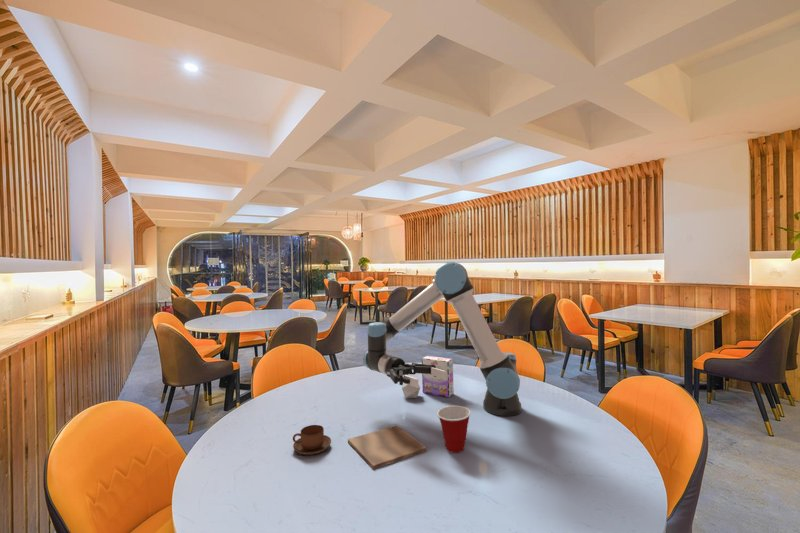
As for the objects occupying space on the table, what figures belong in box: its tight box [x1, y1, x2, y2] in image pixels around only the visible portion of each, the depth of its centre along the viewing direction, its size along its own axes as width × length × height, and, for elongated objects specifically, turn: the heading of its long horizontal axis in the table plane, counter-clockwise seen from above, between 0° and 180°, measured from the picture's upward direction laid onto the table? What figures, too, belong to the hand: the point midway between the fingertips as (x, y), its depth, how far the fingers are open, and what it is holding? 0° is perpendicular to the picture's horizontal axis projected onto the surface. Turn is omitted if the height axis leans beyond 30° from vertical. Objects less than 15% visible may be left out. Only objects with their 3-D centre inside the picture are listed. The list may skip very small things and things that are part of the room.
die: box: [401, 383, 421, 399], centre depth 160 cm, size 8×9×10 cm
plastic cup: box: [436, 405, 471, 454], centre depth 114 cm, size 11×11×12 cm
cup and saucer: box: [292, 424, 332, 456], centre depth 115 cm, size 12×12×6 cm
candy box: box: [421, 355, 455, 398], centre depth 164 cm, size 14×6×16 cm, turn 58°
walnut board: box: [347, 425, 427, 470], centre depth 115 cm, size 19×19×1 cm
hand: (431, 379), depth 121 cm, fingers open, 13 cm apart
